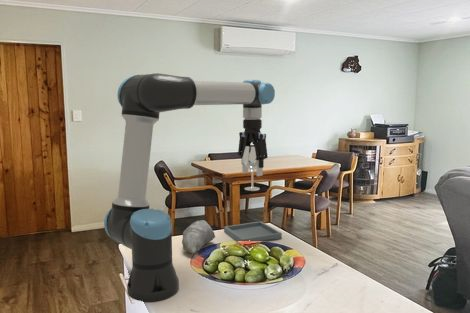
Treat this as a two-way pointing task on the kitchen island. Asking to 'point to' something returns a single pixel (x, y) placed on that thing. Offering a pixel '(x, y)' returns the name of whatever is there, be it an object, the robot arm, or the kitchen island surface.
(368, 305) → the kitchen island surface
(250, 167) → the wineglass
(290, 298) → the kitchen island surface
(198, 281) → the kitchen island surface
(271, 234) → the tray
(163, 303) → the kitchen island surface
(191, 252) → the grey rock
